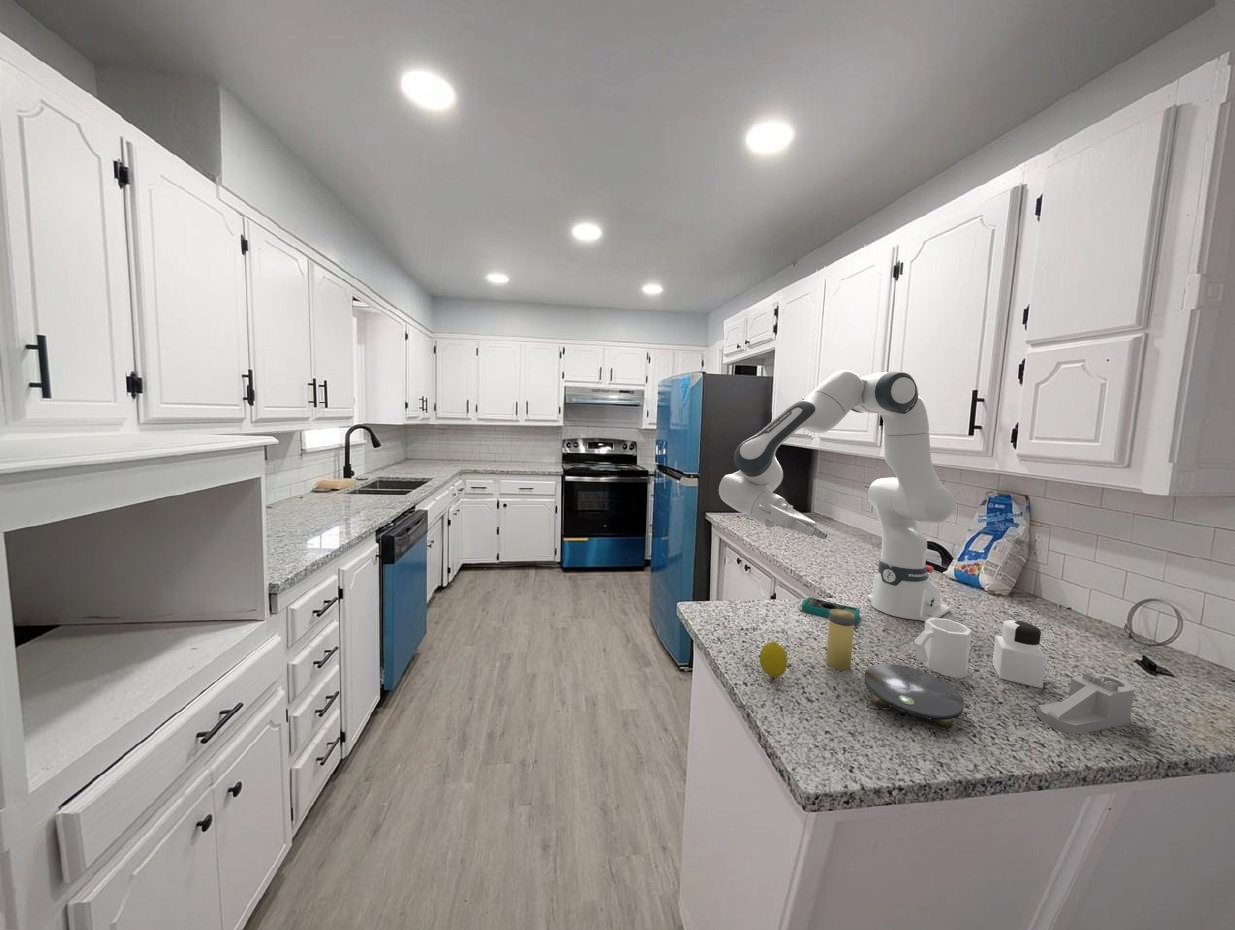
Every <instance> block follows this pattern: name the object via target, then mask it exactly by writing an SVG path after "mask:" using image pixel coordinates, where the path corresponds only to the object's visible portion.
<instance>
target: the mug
mask: <svg viewBox="0 0 1235 930" xmlns="http://www.w3.org/2000/svg"><path fill="white" fill-rule="evenodd" d="M972 632H973V631H972V630H971V629H970V628H968V626H966V625H965V624H963V623H960V622H957V621H955V620H951V619H948V618H943V617H942V618H941V617H939V618H930V619H928V620H926V621H924V630H922V632H920V634H919V635H918V636H917V637H916V638H915V639H914V640H913V643H914V644H913V645H914V650H915V654H916V655H915V656H916V659H917V660H918V661H920V662H921V663H923V664H924V666H926V668H927V669H928V670H931V671H933V672H936V673H938V674H941V675H943V676H945V677H952V678H962V679H963V678H965V677H966V675H967V674H968V672H969V671H968V670H969V660H970V659H969V658H970V652H971V651H970V650H971V649H970V648H971V642H972V641H971V640H972Z"/></svg>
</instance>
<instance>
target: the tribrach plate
mask: <svg viewBox="0 0 1235 930" xmlns="http://www.w3.org/2000/svg"><path fill="white" fill-rule="evenodd" d="M864 684H865V686H866V688H867V689H868V690H869V691H870V692H871V700H870V701H871V703H872V705H874V706H875V707H878V708H879V709H884V710H887V709H890V708H891V707H893V708H895V709H897V710H898V711H899V710H900V711H902V712H905V713H907V714H909V715H913V716H917V717H919V718H920V717H921V718H923V719H924V718H925V719H929V720H930V722H931V724H933V725H934V726H935V727H938V728H940V729H942V730H951V729H952V726H953V720H955V719H957V718H959V717H960V716H961V715H962V714H963V713H964V708H965V701H964V698H963V696H962V694H961V693H960V692H959V691H958V690H957V689H956V688H955V687H953V686H952V685H950V683H948V682H947V681H945V680H943V679H941V678H940V677H937V676H935V675H934V674H933V675H932V674H931V673H928V672H925V671H923V670H920V669H917V668H914V667H909V666H905V665H901V664H894V663H877V664H874V665H871V666H869V667H867V668H866V669H865V671H864Z"/></svg>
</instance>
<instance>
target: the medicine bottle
mask: <svg viewBox="0 0 1235 930" xmlns="http://www.w3.org/2000/svg"><path fill="white" fill-rule="evenodd" d="M1041 636H1042V631H1041V629H1040V628H1038V627H1037V626H1035V625H1033V624H1031V623H1029V622H1026V621H1022V620H1017V619H1015V620H1014V619H1009V620H1006V621H1004V622H1003V627H1002V635H995V638H994V646H993V654H992V655H993V656H992V666H993V667H994V670H995V672H996V674H997V675H998V678H999V679H1001V680H1005V681H1008V682H1009V681H1010V682H1013V683H1016V684H1021V685H1026V686H1029V687H1034V688H1038V689H1043V688H1044V684H1045V683H1044V681H1045V680H1044V679H1045V673H1046V666H1047V665H1046V664H1047V656H1046V655H1045V653H1044V652H1043V651H1042V650H1041V648H1040V645H1041Z"/></svg>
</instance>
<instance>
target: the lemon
mask: <svg viewBox="0 0 1235 930" xmlns="http://www.w3.org/2000/svg"><path fill="white" fill-rule="evenodd" d="M759 664H760V667H761V669H762V671H763V672H764V674H766V675H767V676H769V677H770V678H772V679H775V678H777V677H781V676H782V675H783V674H784V673H785V672H786V670H787V667H788V656H787V651H786V650H785V648H784V647H783V646H782V645H781V644H779V643H778V642H776V641H770V642H767V643H766V644H764V645H763V646H762V648H761V651H760V654H759Z"/></svg>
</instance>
